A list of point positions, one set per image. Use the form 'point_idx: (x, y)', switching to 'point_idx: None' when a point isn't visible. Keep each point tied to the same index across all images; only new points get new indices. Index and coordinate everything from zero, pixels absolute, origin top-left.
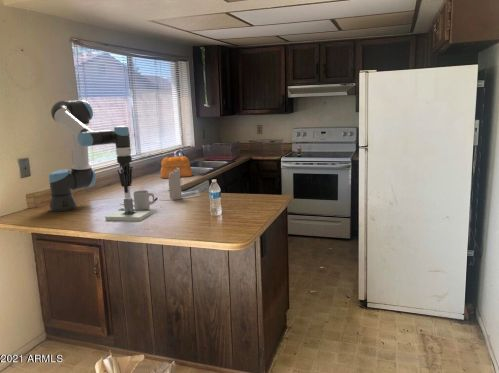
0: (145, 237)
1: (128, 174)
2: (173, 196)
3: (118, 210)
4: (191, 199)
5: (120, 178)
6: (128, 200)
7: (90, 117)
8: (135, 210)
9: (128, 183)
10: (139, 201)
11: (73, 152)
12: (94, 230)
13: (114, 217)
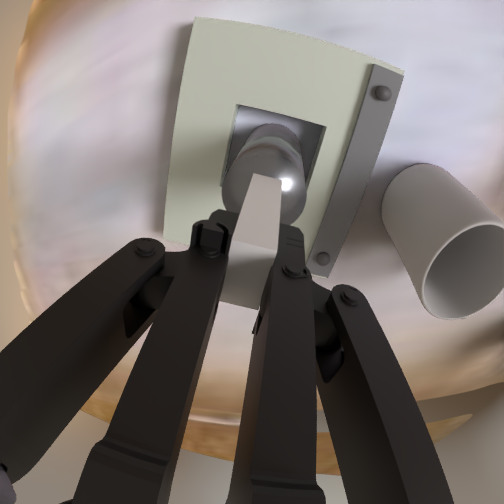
0: (17, 273)
1: (233, 483)
2: None
3: (371, 65)
4: (482, 363)
5: (31, 337)
6: (225, 204)
7: None
8: (333, 187)
9: (256, 329)
10: (403, 231)
11: None
12: (36, 64)
13: (182, 80)
